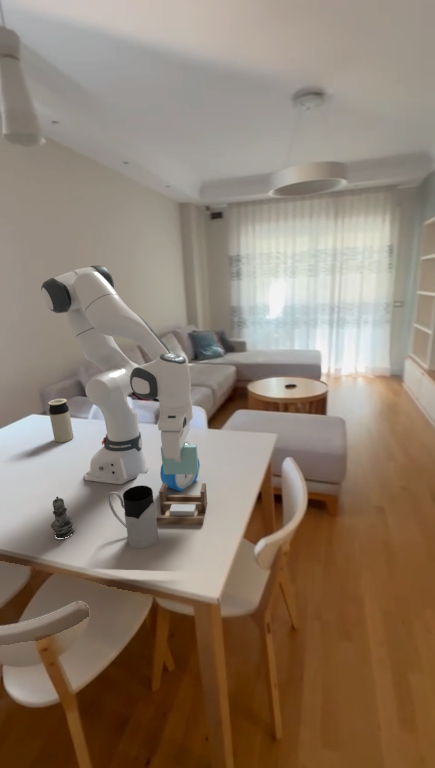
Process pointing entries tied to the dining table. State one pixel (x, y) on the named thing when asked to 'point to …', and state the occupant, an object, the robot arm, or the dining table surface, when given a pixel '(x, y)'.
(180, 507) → the grey offcut
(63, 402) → the travel mug
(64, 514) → the dark grey figurine
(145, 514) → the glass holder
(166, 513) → the oak offcut
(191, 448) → the panel
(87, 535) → the dining table surface
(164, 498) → the rack
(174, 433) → the robot arm
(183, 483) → the alarm clock
